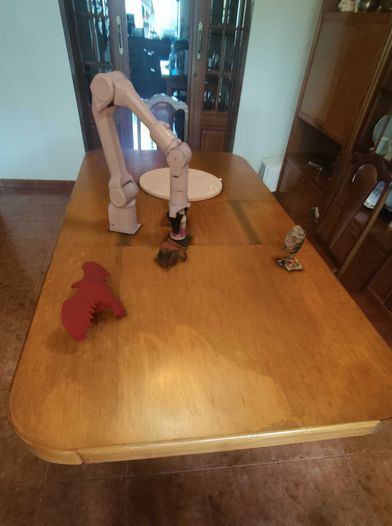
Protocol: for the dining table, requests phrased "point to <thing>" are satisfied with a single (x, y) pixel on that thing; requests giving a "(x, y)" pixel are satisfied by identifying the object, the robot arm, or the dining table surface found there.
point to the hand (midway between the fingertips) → (177, 229)
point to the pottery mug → (170, 252)
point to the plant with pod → (296, 243)
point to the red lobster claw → (89, 301)
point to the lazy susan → (198, 184)
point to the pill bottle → (182, 228)
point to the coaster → (183, 241)
